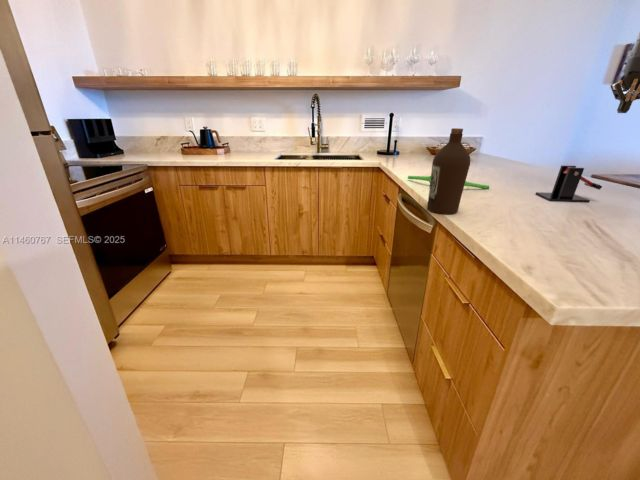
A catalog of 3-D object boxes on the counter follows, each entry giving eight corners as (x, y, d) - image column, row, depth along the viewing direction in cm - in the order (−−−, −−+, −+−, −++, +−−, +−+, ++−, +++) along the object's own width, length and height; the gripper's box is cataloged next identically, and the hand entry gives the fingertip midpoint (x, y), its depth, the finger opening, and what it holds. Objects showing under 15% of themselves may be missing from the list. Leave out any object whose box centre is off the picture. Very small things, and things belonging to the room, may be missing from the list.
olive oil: (454, 205, 98) (470, 127, 88) (464, 216, 89) (483, 130, 78) (422, 204, 100) (434, 127, 89) (428, 214, 90) (443, 129, 80)
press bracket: (571, 196, 109) (583, 164, 104) (588, 203, 101) (602, 169, 96) (534, 195, 110) (545, 164, 105) (549, 202, 102) (560, 168, 97)
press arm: (585, 186, 106) (591, 181, 105) (597, 191, 100) (603, 185, 99) (559, 171, 104) (564, 165, 103) (570, 174, 99) (576, 168, 98)
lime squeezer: (488, 189, 119) (492, 173, 116) (486, 195, 110) (491, 179, 107) (408, 179, 135) (409, 165, 132) (400, 184, 125) (402, 170, 123)
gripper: (632, 54, 92) (609, 113, 100) (678, 53, 91) (652, 113, 98) (613, 58, 99) (593, 113, 106) (656, 57, 98) (633, 113, 105)
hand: (621, 113), depth 102 cm, fingers closed
